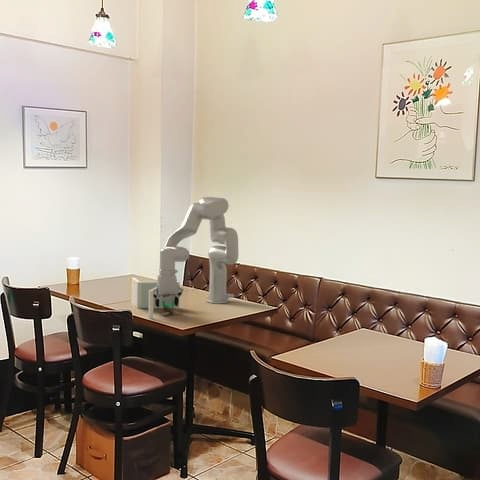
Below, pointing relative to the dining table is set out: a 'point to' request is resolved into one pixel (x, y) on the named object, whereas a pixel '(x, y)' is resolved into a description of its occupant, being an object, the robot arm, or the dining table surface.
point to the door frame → (137, 296)
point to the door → (145, 297)
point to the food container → (168, 304)
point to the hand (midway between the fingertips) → (166, 305)
